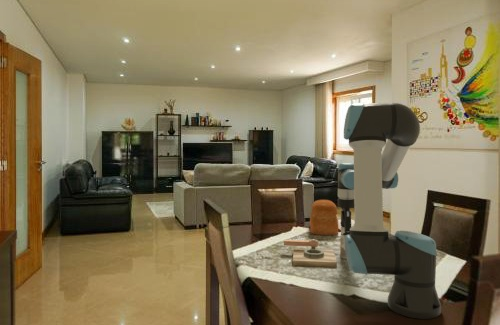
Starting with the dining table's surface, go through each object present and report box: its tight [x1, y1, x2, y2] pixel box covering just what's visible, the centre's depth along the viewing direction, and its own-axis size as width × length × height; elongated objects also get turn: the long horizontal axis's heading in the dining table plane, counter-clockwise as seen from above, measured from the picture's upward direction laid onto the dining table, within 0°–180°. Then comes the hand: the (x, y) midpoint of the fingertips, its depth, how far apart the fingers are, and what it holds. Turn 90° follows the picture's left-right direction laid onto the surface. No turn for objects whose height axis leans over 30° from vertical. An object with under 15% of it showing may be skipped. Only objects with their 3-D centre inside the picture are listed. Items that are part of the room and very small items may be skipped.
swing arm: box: [283, 238, 319, 248], centre depth 175 cm, size 16×4×3 cm, turn 84°
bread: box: [309, 199, 339, 236], centre depth 221 cm, size 16×26×17 cm, turn 172°
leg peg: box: [339, 233, 347, 260], centre depth 169 cm, size 4×4×10 cm
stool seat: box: [292, 246, 338, 268], centre depth 166 cm, size 18×18×4 cm
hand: (345, 245), depth 169 cm, fingers open, 13 cm apart
